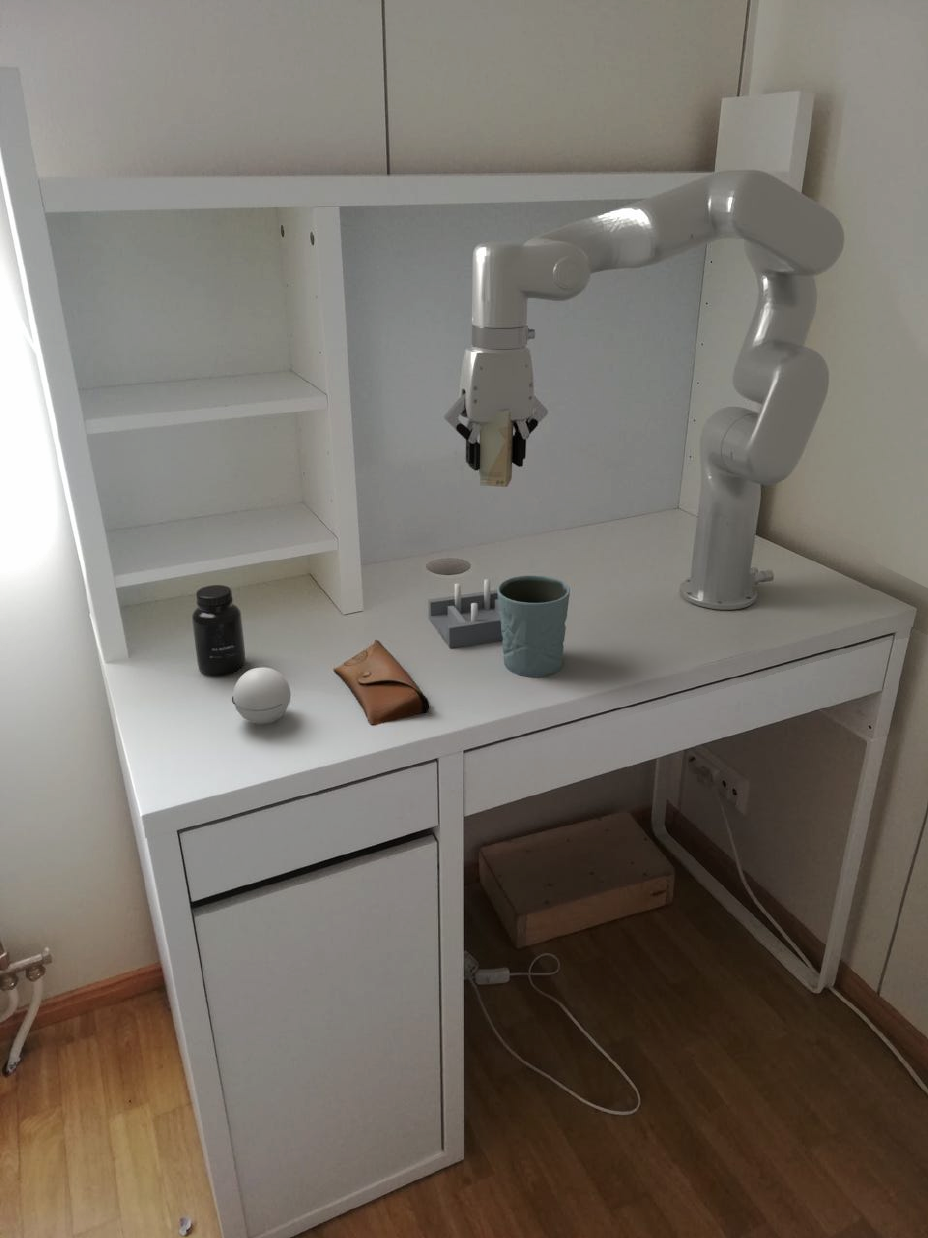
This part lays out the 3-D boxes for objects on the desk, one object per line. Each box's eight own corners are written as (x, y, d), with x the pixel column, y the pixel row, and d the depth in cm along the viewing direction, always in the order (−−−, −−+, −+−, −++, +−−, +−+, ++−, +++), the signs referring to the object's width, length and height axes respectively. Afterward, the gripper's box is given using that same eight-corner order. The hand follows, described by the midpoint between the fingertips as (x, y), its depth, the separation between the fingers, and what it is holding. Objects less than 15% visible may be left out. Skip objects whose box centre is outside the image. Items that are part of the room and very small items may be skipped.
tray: (509, 606, 151) (510, 573, 148) (535, 634, 141) (536, 599, 139) (428, 618, 147) (427, 584, 144) (449, 648, 137) (449, 612, 135)
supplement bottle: (222, 682, 128) (212, 605, 123) (188, 670, 132) (177, 594, 127) (256, 662, 134) (248, 587, 129) (223, 651, 137) (213, 578, 132)
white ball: (252, 702, 123) (246, 654, 120) (302, 710, 122) (297, 661, 118) (214, 740, 115) (206, 690, 112) (266, 750, 113) (260, 698, 110)
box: (507, 488, 131) (509, 411, 127) (477, 486, 132) (479, 409, 127) (512, 478, 136) (514, 403, 131) (484, 476, 137) (485, 402, 132)
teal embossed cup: (579, 669, 131) (584, 593, 126) (521, 687, 127) (522, 609, 122) (540, 642, 139) (543, 569, 134) (483, 657, 135) (484, 583, 130)
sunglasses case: (327, 667, 132) (347, 627, 131) (368, 680, 136) (388, 641, 135) (371, 728, 117) (394, 683, 116) (415, 740, 121) (437, 697, 120)
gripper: (545, 332, 131) (539, 455, 139) (430, 337, 126) (431, 464, 134) (567, 340, 125) (559, 468, 132) (447, 345, 120) (447, 478, 127)
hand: (495, 464), depth 133 cm, fingers closed on box, 6 cm apart
